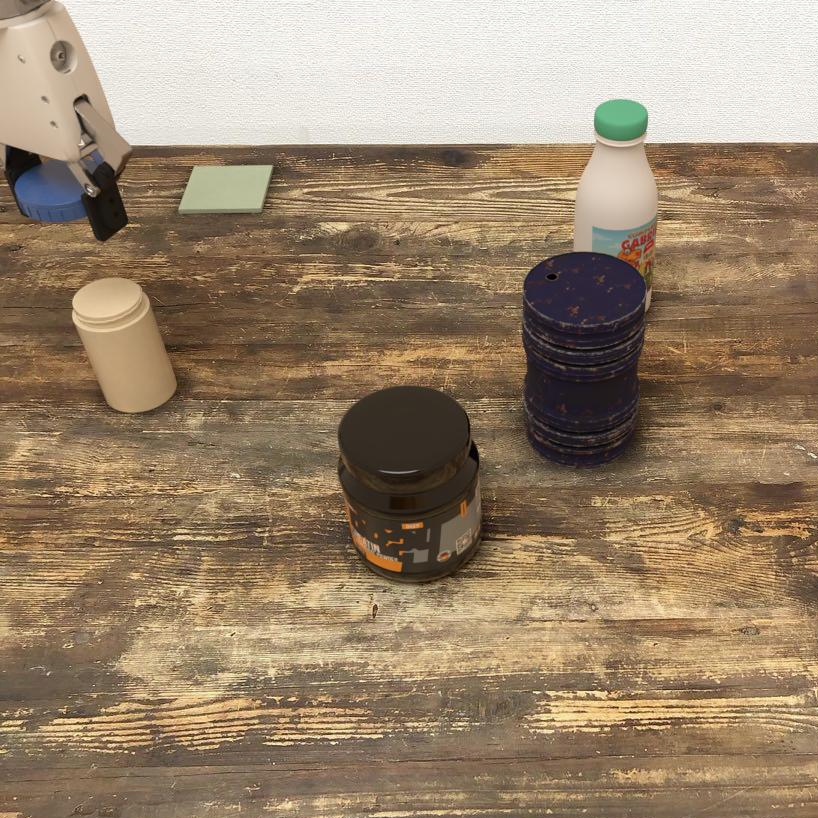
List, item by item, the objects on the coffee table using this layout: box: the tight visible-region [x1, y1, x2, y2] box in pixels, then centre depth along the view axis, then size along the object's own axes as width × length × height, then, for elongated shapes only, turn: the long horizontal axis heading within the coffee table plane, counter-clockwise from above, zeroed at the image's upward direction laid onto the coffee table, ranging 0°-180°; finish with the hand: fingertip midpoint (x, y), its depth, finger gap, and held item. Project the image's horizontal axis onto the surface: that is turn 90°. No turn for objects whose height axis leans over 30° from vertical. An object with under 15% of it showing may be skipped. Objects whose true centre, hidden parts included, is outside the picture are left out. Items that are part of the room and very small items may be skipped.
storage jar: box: [521, 251, 647, 469], centre depth 88 cm, size 10×10×15 cm
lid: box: [15, 158, 97, 223], centre depth 83 cm, size 7×7×2 cm
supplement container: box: [336, 384, 484, 583], centre depth 81 cm, size 10×10×12 cm
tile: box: [177, 164, 275, 215], centre depth 120 cm, size 9×9×1 cm
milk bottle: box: [572, 98, 659, 312], centre depth 98 cm, size 8×8×20 cm
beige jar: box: [71, 277, 178, 414], centre depth 94 cm, size 6×6×10 cm
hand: (75, 218), depth 85 cm, fingers closed on lid, 6 cm apart
